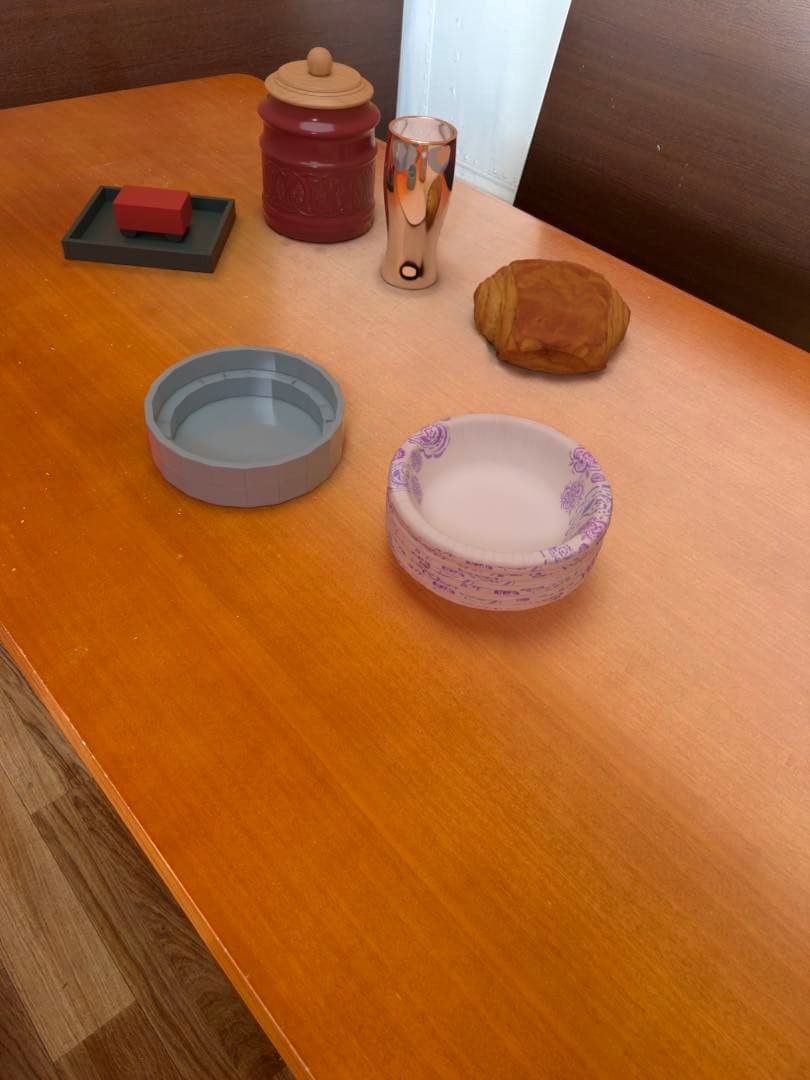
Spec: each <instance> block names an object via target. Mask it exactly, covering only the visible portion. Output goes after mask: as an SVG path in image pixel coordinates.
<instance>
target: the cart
mask: <svg viewBox="0 0 810 1080" xmlns="http://www.w3.org/2000/svg"><path fill="white" fill-rule="evenodd" d="M122 187H123V188H122V189H121V191H120V192H119V194H118V195H117V197H116V198H115V200H114V202H113V208H114V213H115V218H116V224H117V228H118V229H120V232H121V233H122V235H124V236H125V237H127V238H134V237H135V236H136V234H137V233H138V231H147V232H157V233H165V235H166V237H167V239H168V240H169V241H171V242H174V243H177V242H179V241H181V239H182V237H183V235H184V233H185V231H186V229H187V227H188V225H189V223H190V221H191V219H192V207H191V198H190V194H191V192H190V191H187V190H177V189H170V188H169V189H168V188H159V187H150V186H149V187H148V186H138V185H131V184H130V185H129V184H123V186H122Z"/></svg>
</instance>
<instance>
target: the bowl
mask: <svg viewBox="0 0 810 1080" xmlns="http://www.w3.org/2000/svg"><path fill="white" fill-rule="evenodd" d="M143 408H144V419H145V426H146V431H147V436H148V441H149V447H150V451H151V452H150V453H151V457H152V461H153V463H154V465H155V466H156V468H157V470H158V471H159V472H160V474H161V476H162V477H163V478H164V480H165V481H166V482H168V483H169V484H171V485H172V486H173V487H174V488H176V489H177V490H179V491H180V492H182V493H183V494H185V495H186V496H188V497H191V498H194V499H196V500H199V501H202V502H205V503H208V504H211V505H214V506H222V507H235V508H245V509H247V508H257V507H265V506H272V505H279V504H282V503H285V502H288V501H290V500H293V499H296V498H299V497H301V496H304V495H307V494H309V493H310V492H312V491H314V489H315V488H317V487H318V486H320V485H321V484H322V483H324V482H325V481H326V480H328V479H329V478H330V477H331V475H332V474H333V472H334V471H335V469H336V468H337V466H338V465H339V463H340V461H341V460H342V456H343V450H344V449H343V448H344V444H345V443H344V442H345V425H346V424H345V422H346V421H345V420H346V400H345V397H344V394H343V392H342V389H341V385H340V383H339V381H337V380H336V378H335V377H334V376H333V375H332V374H330V372H329V371H328V370H327V369H326V368H325V367H324V366H322V365H321V364H319V363H317V362H315V361H313V360H312V359H309V358H308V357H306V356H305V355H302V354H299V353H295V352H292V351H289V350H285V349H281V348H279V347H271V346H261V345H250V344H249V345H231V346H221V347H216V348H212V349H208V350H205V351H202V352H201V351H200V352H198V353H194V354H191V355H189V356H187V357H185V358H183V359H181V360H180V361H178V362H176V363H174V364H172V365H170V366H169V367H167V368H166V369H164V371H163V372H162V373H161V374H160V375H158V377H156V379H155V380H154V381H153V382H151V384H150V387H149V390H148V391H147V394H146V396H145V398H144V401H143Z"/></svg>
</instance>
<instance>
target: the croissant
mask: <svg viewBox="0 0 810 1080" xmlns="http://www.w3.org/2000/svg"><path fill="white" fill-rule="evenodd" d="M472 298H473V320H474V324H476V328H477V332H478V334H479V335H484V336H485V337H486V339H487V341H488V342H489V343H491V344H492V345H493V346H494V348H495V349H494V351H495V352H494V353H495V356H496V357H497V358H498V359H499V360H501V361H505V362H508V363H510V364H512V365H514V366H517V367H520V368H524V369H526V370H530V371H535V372H541V373H542V372H543V373H549V374H554V375H571V374H582V373H588V372H594V371H600V370H603V369H606V368H607V367H608V362H609V360H610V357H611V354H612V352H613V351H615V350H616V349H617V347H619V346H620V345H621V343H622V342H623V341H624V339H625V337H626V335H627V332H628V328H629V325H630V321H631V312H632V311H631V309H630V307H629V305H628V303H627V302H626V301H625V300H623V296H621V294H620V293H619V291H618V290H617V289H616V288H614V287H612V285H611V283H610V281H609V280H607V279H606V278H605V275H604V273H600V272H598V271H595V270H593V269H592V268H589V267H587V266H585V265H582V264H581V263H578V262H573V261H568V260H553V259H552V260H551V259H544V258H525V259H514V260H513V261H510V263H509V264H507V265H503V266H501V267H500V268H499V269H497V270H496V271H495V272H494V274H492V275H490V276H488V277H486V278H485V279H484V280H483V281H481V282H479V284H478V285H477V287H476V288H475V290H474V291H473V296H472Z"/></svg>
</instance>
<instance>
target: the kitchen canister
mask: <svg viewBox="0 0 810 1080" xmlns="http://www.w3.org/2000/svg"><path fill="white" fill-rule="evenodd" d="M264 88H265V90H266V92H267V93H268V94H266V95H265V96H263V97H262V98H261V99H260V100H259V102H258V104H257V108H256V109H257V113H258V116H259V117H260V118H261V120H262V121H263V122H262V124H263V125H262V126H263V127H262V132H261V134H260V135H259V138H258V144H259V147H260V152H261V155H260V156H261V174H262V175H261V176H262V193H261V200H262V202H261V206H262V210H263V212H264V217H265V221H266V222H267V223H268V225H269V226H270V227H271V228H272V229H273V230H275V231H276V232H278V233H280V234H282V235H284V236H286V237H288V238H292V239H295V240H299V241H304V242H310V243H311V242H312V243H336V242H337V243H338V242H343V241H344V242H345V241H347V240H351V239H354V238H356V237H359V236H361V235H363V234H364V233H365V232H367V231H368V230H369V229H370V227H371V226H372V223H373V217H374V215H375V212H376V198H375V191H376V190H375V189H376V188H375V187H376V170H377V155H378V153H379V143H378V141H377V139H376V138H375V137H376V135H375V133H376V132H375V130H376V129H375V128H376V127H377V125H378V124H379V123H380V120H381V112H380V110H379V108H378V107H377V105H376V104H375V103H374V102H372V101H371V99H372V98H373V96H374V92H375V91H374V86H373V85H372V84H371V83H370V82H369V81H368V80H367V79H366V78H365V77H364V76H363V77H362V76H361V73H360V72H358V71H357V70H356V69H354V68H353V67H351V66H348V65H347V64H343V63H341V62H335V61H333V57H332V55H331V53H330V51H329V50H328V49H326V48H325V47H322V46H316V47H313V48H311V49H310V50H309V52H308V53H307V56H306V59H301V60H294V61H290V62H287V63H284V64H282V66H280V67H278V70H276V71H274V72H272V73H271V74H269V75H268V76H267V77H266V78H265V80H264Z"/></svg>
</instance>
